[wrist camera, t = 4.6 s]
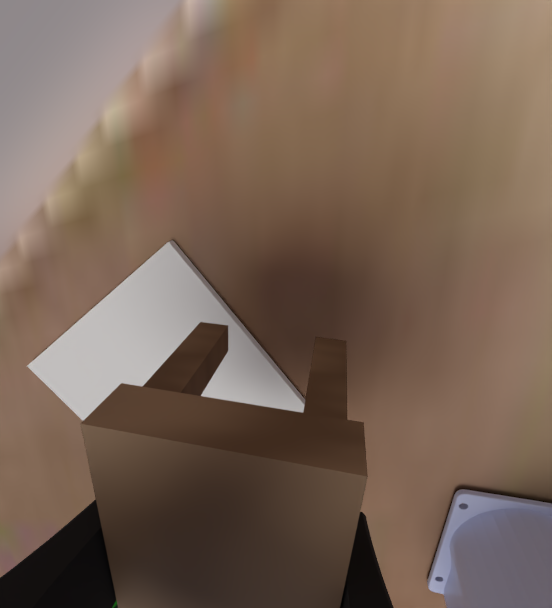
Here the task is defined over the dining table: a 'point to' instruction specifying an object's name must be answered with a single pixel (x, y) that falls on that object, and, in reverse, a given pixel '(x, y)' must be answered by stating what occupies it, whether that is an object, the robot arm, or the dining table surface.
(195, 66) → the dining table surface
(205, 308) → the mat
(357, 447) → the stool
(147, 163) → the dining table surface
